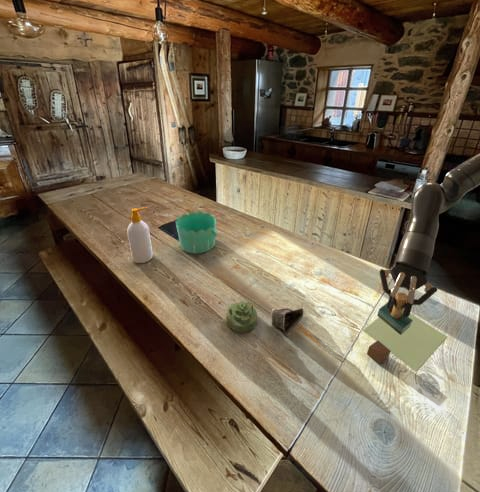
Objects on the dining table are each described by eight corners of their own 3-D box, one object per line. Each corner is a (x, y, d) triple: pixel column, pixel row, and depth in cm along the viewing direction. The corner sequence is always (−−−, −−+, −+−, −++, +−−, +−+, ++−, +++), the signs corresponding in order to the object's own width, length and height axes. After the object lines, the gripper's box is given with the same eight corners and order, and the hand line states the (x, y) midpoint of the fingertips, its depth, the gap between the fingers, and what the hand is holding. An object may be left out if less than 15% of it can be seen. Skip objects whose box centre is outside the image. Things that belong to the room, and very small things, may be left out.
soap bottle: (155, 260, 116) (148, 211, 106) (132, 265, 112) (122, 215, 102) (153, 250, 123) (146, 203, 113) (132, 254, 120) (122, 206, 109)
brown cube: (374, 349, 78) (378, 340, 77) (387, 360, 75) (391, 351, 74) (366, 355, 77) (369, 346, 75) (378, 367, 74) (382, 357, 72)
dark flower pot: (287, 304, 95) (269, 295, 87) (305, 309, 90) (288, 301, 82) (279, 331, 91) (260, 326, 83) (298, 339, 87) (279, 333, 79)
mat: (395, 305, 94) (395, 303, 94) (446, 338, 82) (447, 336, 82) (361, 331, 84) (362, 330, 84) (415, 373, 72) (415, 371, 72)
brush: (386, 308, 77) (394, 283, 70) (409, 327, 72) (421, 302, 65) (377, 315, 75) (384, 291, 69) (400, 335, 70) (411, 310, 64)
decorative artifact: (234, 304, 94) (221, 325, 85) (234, 288, 91) (220, 309, 82) (261, 313, 90) (249, 336, 82) (262, 297, 87) (250, 320, 79)
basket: (171, 242, 129) (168, 218, 123) (202, 229, 140) (200, 207, 135) (192, 260, 116) (191, 234, 111) (225, 245, 127) (224, 221, 122)
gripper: (443, 265, 71) (426, 328, 67) (385, 247, 78) (367, 304, 74) (450, 258, 65) (431, 328, 61) (387, 240, 72) (367, 301, 68)
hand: (396, 314), depth 68 cm, fingers closed on brush, 2 cm apart
